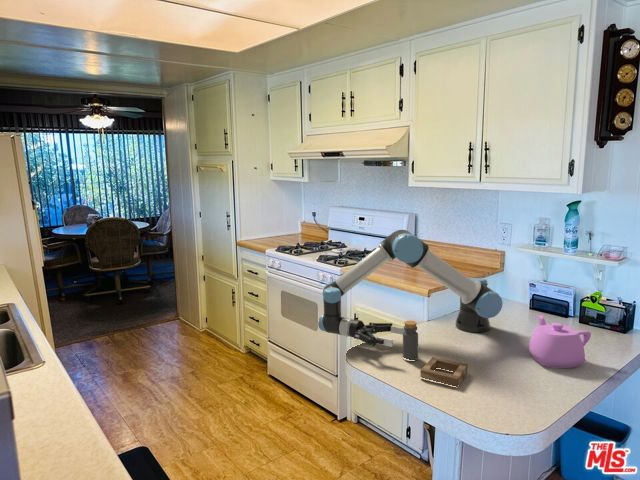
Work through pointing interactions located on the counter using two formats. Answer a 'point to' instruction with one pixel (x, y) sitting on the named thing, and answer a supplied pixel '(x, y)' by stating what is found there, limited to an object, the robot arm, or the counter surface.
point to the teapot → (558, 345)
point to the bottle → (410, 340)
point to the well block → (445, 378)
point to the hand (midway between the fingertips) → (399, 337)
